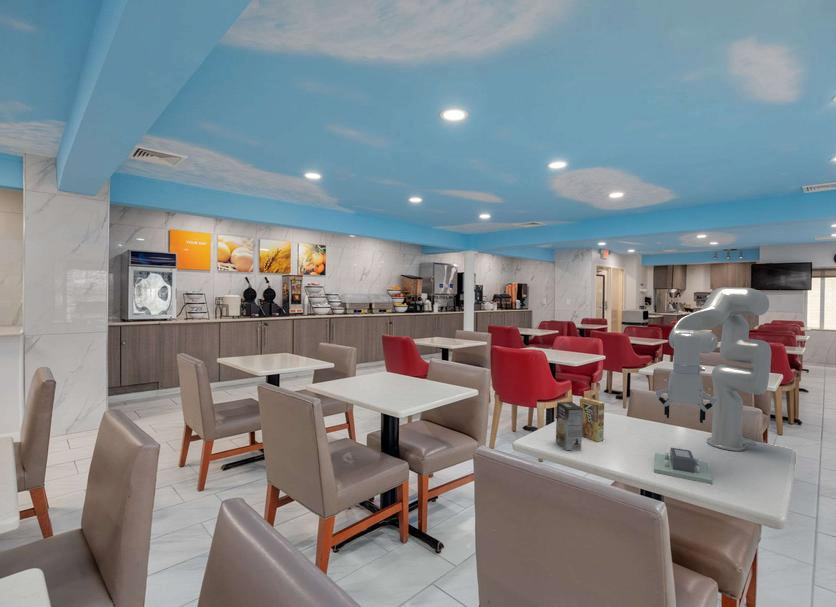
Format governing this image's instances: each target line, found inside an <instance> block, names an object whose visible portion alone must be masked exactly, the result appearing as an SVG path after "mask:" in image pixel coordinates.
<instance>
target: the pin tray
mask: <svg viewBox="0 0 836 607" xmlns="http://www.w3.org/2000/svg"><path fill="white" fill-rule="evenodd" d="M669 454H670V453H667V452H664V454H663V453H662V454H661V453H658V452H655V453H654V466H653V473H656V474H660V475H666V476H670V477H676V478H679V479H685V480H690V481H694V482H695V481H696V482H699V483H706V484H710V485H712V484H713V479H712V478H713V477H712V475H711V473H712V472H711V470H710V466H709V462H705V461H701V460H699V458H697V457H696V458H694V460H695V466H694V473H691V472H685V471H680V470H674V469H673V468H672V464H671V460H670V455H669Z"/></svg>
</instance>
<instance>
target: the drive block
mask: <svg viewBox="0 0 836 607" xmlns="http://www.w3.org/2000/svg"><path fill="white" fill-rule="evenodd" d="M669 449H670V450H669V451H670V452H669V454H670V455H669V456H670V460H671V464H672V468H673V469H674V470H680V471H685V472H691V473H694V466H695V460H694V459H695V458H694V455H693V453H692V451H691V450H689V449H682V448H677V447H670V448H669Z"/></svg>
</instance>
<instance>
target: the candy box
mask: <svg viewBox="0 0 836 607" xmlns="http://www.w3.org/2000/svg"><path fill="white" fill-rule="evenodd" d="M579 406H580V407H581V408H583V419H582V437H583V438H586V439H589V440H592V441H595V442H601V441H603V440H604V435H605V434H604V430H605V429H604V427H605V425H604V424H605V402H604V401H600V400H597V399H593V398H589V397H582V398H579Z"/></svg>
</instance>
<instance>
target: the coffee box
mask: <svg viewBox="0 0 836 607" xmlns="http://www.w3.org/2000/svg"><path fill="white" fill-rule="evenodd" d="M556 404H557V405H556V424H555V425H556V427H555V429H556V430H555V443H556V444H558V446H560V447H561V448H562V447H563V448H564V450H565V451H566V450H576V451H582V442H583V441H582V439H583V438H582V437H583V436H582V419H583V408H581V407H580V405H578V404H576V403H574V402H572V401H560V402H558V401H557V402H556Z"/></svg>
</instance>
